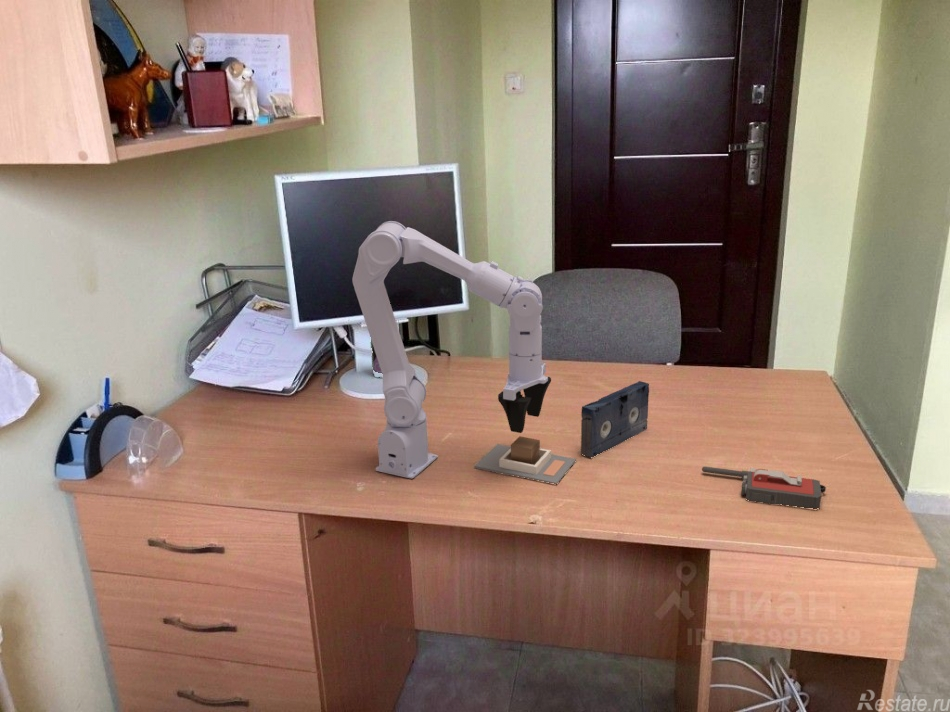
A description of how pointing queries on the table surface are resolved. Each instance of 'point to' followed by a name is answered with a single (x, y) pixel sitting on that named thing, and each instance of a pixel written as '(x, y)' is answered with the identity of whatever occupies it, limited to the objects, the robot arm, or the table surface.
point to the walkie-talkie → (776, 487)
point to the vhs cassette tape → (614, 419)
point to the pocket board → (526, 465)
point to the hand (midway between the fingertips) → (525, 423)
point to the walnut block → (525, 450)
